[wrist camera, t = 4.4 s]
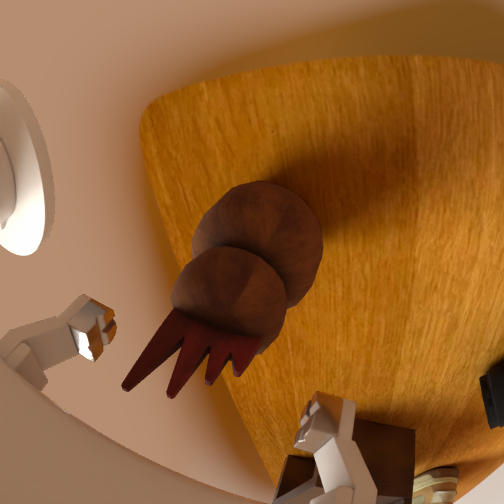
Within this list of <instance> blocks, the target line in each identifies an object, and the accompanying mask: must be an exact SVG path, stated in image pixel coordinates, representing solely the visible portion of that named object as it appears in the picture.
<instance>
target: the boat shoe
mask: <svg viewBox="0 0 504 504" xmlns="http://www.w3.org/2000/svg"><path fill="white" fill-rule="evenodd" d="M458 475H459V472H458V470H457V469H454V468H437V469H433V470H430V471H427V472H425V473H423V474H421V475H419V476H417V477H415V478H414V486H413V497H412V504H453V500H454V498H455V495H457V491H456V487H457V484H458Z"/></svg>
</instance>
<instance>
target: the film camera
mask: <svg viewBox="0 0 504 504" xmlns="http://www.w3.org/2000/svg"><path fill="white" fill-rule="evenodd" d="M479 380H480V386H481V391H482V397H483V402H484V405H485V411H486V415H487V419H488V424H489V426H490V429H492V428H495V427H498V426H499V427H503V426H504V364H503V365H500V366H498V367H495V368H493V369H491V370H489V371H488V374H486V375H484V376H482V377H480V378H479Z"/></svg>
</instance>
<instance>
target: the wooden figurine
mask: <svg viewBox="0 0 504 504" xmlns="http://www.w3.org/2000/svg"><path fill="white" fill-rule="evenodd" d="M322 253H323V242H322V235H321V228H320V224H319V221H318V219H317V217H316V216H315V214H314V213H313V212H312V211H311V209H310V208H309V207H308V206H307V204H306V203H305V202H304V201H303V200H302V199H301V198H300V197H299V196H298V195H297V194H296V193H294V192H293V191H291V190H289V189H287V188H285V187H283V186H281V185H277V184H272V183H268V182H264V181H255V182H250V183H246V184H242V185H238V186H236V187H234V188H231V189H230V190H229V191H228V192H227V193H226V194H225V195H224V196H223V197H222V198H221V199H220V200H219V201H218V202H217V203H216V204H215V205H214V206H213V207H212V208H211V209H210V210H209V211H208V212H207V213H206V214H205V215H204V216H203V218H202V219H201V221H200V223H199V225H198V227H197V229H196V231H195V234H194V236H193V238H192V257H193V260H192V261H191V262H189V263H188V264H187V265H186V266H185V267H184V269H183V271H182V272H181V274H180V275H179V277H178V279H177V281H176V283H175V284H174V286H173V290H172V294H171V297H170V298H171V303H172V309H173V310H172V311H171V312H170V314H169V315H168V316H167V318H166V319H165V320H164V322H163V323H162V325H161V326H160V327H159V329H158V330H157V332H156V333H155V335H154V336H153V338H152V339H151V341H150V342H149V343H148V345H147V346H146V348H145V349H144V351H143V352H142V354H141V356H140V357H139V358H138V360H137V361H136V363H135V364H134V366H133V367H132V369H131V371H130V372H129V373H128V375H127V377H126V378H125V380H124V381H123V383H122V385H121V386H122V389H123V390H124V391H126V392H129V391H130V390H131V389H133V388H134V387H135V386H136V385H137V384H139V383H140V382H141V381H142V380H143V379H144V378H145V377H147V376H148V375H149V374H150V373H151V372H153V371H154V370H155V369H156V368H157V367H158V366H160V365H161V364H162V363H163V362H164V361H165V360H167V359H168V358H169V357H170V356H171V355H172V354H174V353H175V352H176V351H177V350H178V349H179V348H180V347H181V350H180V353H179V356H178V359H177V362H176V365H175V368H174V371H173V374H172V377H171V380H170V383H169V385H168V389H167V391H166V393H167V397H168V398H170V399H173V398H175V396H176V395H177V394H178V392H179V391H180V390H181V389H182V387H183V386H184V385H185V383H186V382H187V381H188V379H189V378H190V377H191V376H192V374H193V373H194V372H195V370H196V369H197V368H198V366H199V365H200V364H201V363H202V361H203V360H204V359H205V357H206V356H207V355H208V354H210V355H209V359H208V364H207V370H206V374H205V384H206V385H209V386H211V385H212V384H213V383H214V381H215V380H216V378H217V377H218V376H219V374H220V373H221V371H222V370H223V368H224V367H225V365H226V364H227V362H228V360H230V361H232V367H233V374H234V376H235V377H240V376H241V375H242V373H243V372H244V371H245V369H246V368H247V367H248V365H249V364H250V362H251V361H252V359H253V358H254V356H255V355H258V354H262V353H263V352H264V351H265V350H266V349H267V348H268V346H269V345H270V344H271V343H272V342H273V341H274V340H275V339H276V338H277V337H278V336H279V333H280V331H281V328H282V326H283V322H284V318H285V314H286V310H287V309H288V308H291V307H293V306H296V305H297V304H298V303H299V301H300V300H301V299H302V298H303V297H304V296H305V294H306V293H307V292H308V290H309V289H310V288H311V286H312V284H313V282H314V279H315V276H316V273H317V270H318V267H319V264H320V262H321V259H322Z"/></svg>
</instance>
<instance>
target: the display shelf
mask: <svg viewBox="0 0 504 504" xmlns="http://www.w3.org/2000/svg"><path fill="white" fill-rule="evenodd" d="M352 441H355V442H356V444H357V447H358V449H359V451H360V453H361V455H362V457H363V460H364V462H365V464H366V466H367V468H368V470H369V473H370V475H371V477H372V479H373V481H374V484H375V486H376V488H377V490H378V491H377V498H376V504H412V497H413V486H414V469H415V430H412V429H406V428H400V427H394V426H389V425H384V424H379V423H374V422H369V421H365V420H360V419H356V418H354V426H353V433H352ZM324 493H325V490H324V487H323V484H322V481H321V477H320V474H319V471H318V467H317V464H316V462H315V461H310V460H306V459H302V458H298V457H294V456H290V455H288V456H287V457H286V458H285V462H284V465H283V469H282V472H281V476H280V479H279V483H278V486H277V489H276V493H275V496H274V499H273V503H272V504H310V501H311V500H312V499H314V498H316V497H318V496H320V495H322V494H324Z"/></svg>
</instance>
